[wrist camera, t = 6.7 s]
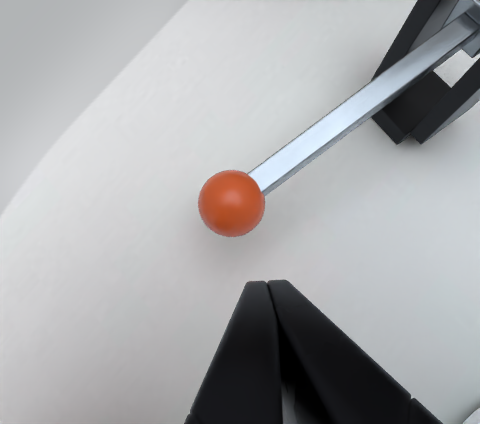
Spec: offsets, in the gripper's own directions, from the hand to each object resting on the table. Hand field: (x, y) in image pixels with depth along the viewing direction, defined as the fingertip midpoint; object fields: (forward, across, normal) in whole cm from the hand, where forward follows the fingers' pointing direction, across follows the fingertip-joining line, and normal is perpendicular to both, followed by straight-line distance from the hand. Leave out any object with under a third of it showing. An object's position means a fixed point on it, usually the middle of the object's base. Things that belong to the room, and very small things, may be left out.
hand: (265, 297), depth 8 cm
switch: (+12, -6, -1) cm, 13 cm away
